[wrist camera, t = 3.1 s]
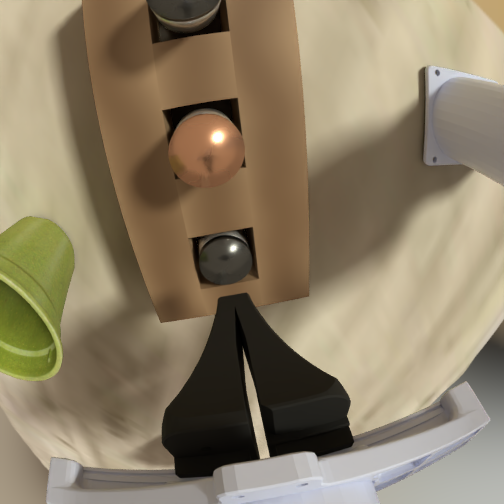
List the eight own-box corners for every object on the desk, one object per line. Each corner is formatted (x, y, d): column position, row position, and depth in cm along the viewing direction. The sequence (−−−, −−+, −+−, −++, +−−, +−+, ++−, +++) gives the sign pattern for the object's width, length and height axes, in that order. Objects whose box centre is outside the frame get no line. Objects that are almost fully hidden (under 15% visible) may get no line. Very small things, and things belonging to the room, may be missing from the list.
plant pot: (52, 315, 23) (23, 394, 15) (-20, 241, 18) (-73, 308, 10) (119, 262, 21) (93, 352, 14) (35, 167, 16) (-38, 225, 9)
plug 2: (240, 209, 20) (249, 235, 17) (245, 248, 21) (254, 279, 18) (194, 217, 20) (194, 245, 17) (202, 256, 21) (204, 288, 18)
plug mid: (231, 103, 14) (240, 109, 11) (237, 159, 15) (248, 181, 12) (170, 113, 14) (162, 122, 11) (180, 169, 15) (176, 194, 12)
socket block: (266, -40, 12) (283, -65, 9) (293, 263, 24) (309, 296, 20) (101, -15, 11) (80, -33, 8) (164, 286, 23) (160, 322, 20)
